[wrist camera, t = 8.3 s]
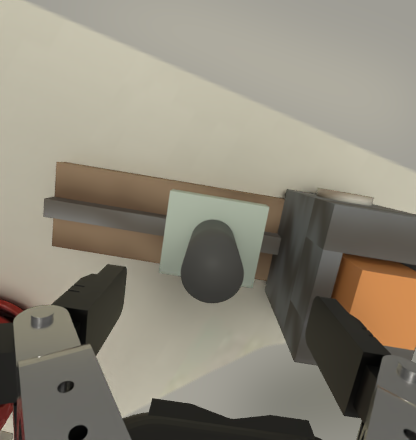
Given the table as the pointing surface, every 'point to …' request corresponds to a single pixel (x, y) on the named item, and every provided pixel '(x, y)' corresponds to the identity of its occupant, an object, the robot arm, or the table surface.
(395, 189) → the table surface
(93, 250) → the rail
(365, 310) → the button
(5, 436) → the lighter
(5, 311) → the plant pot
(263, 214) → the mint plate with knob
